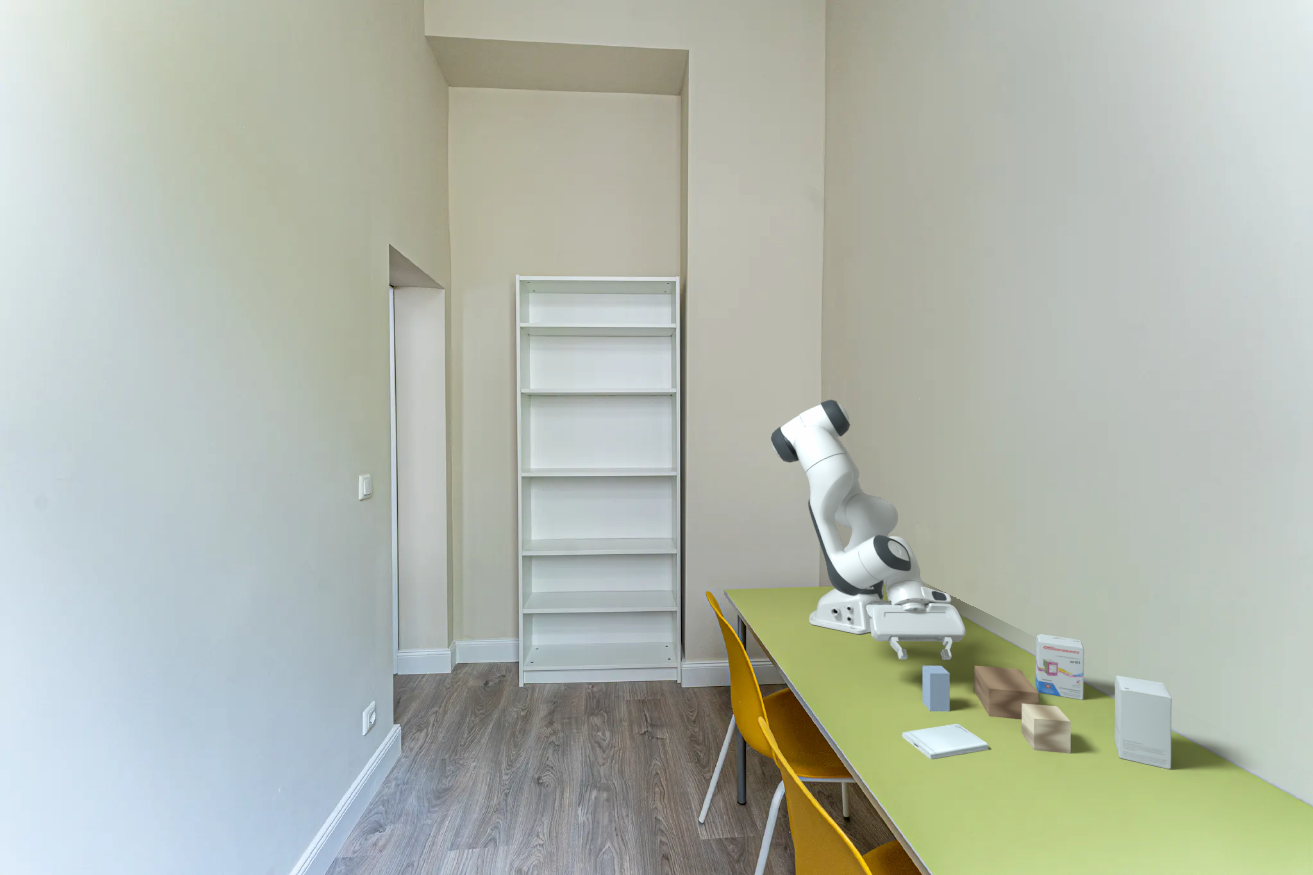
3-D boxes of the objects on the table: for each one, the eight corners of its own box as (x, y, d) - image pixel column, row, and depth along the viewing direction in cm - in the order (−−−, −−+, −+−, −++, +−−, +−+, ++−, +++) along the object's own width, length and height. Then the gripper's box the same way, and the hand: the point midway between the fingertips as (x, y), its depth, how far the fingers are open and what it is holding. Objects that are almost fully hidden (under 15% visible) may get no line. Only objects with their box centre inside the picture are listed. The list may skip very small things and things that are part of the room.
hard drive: (956, 722, 120) (901, 730, 117) (988, 743, 112) (930, 753, 109) (956, 730, 120) (901, 739, 117) (988, 752, 112) (930, 762, 109)
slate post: (922, 702, 131) (922, 665, 131) (941, 702, 131) (941, 665, 130) (930, 711, 127) (930, 673, 127) (949, 711, 127) (949, 673, 126)
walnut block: (989, 717, 124) (989, 688, 124) (974, 691, 136) (974, 665, 136) (1038, 722, 122) (1038, 692, 122) (1019, 695, 134) (1019, 669, 134)
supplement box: (1172, 770, 105) (1172, 698, 104) (1118, 758, 108) (1118, 688, 108) (1164, 750, 111) (1165, 682, 110) (1113, 739, 115) (1114, 673, 114)
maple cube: (1033, 750, 112) (1034, 718, 111) (1021, 734, 117) (1021, 703, 117) (1070, 753, 110) (1070, 721, 110) (1056, 737, 116) (1056, 706, 116)
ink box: (1037, 693, 134) (1037, 640, 134) (1035, 684, 139) (1035, 633, 139) (1084, 700, 130) (1084, 646, 130) (1080, 691, 135) (1080, 638, 135)
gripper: (866, 594, 141) (880, 651, 131) (956, 594, 140) (977, 652, 130) (861, 607, 145) (874, 664, 136) (948, 607, 144) (967, 664, 135)
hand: (925, 658), depth 133 cm, fingers open, 8 cm apart
